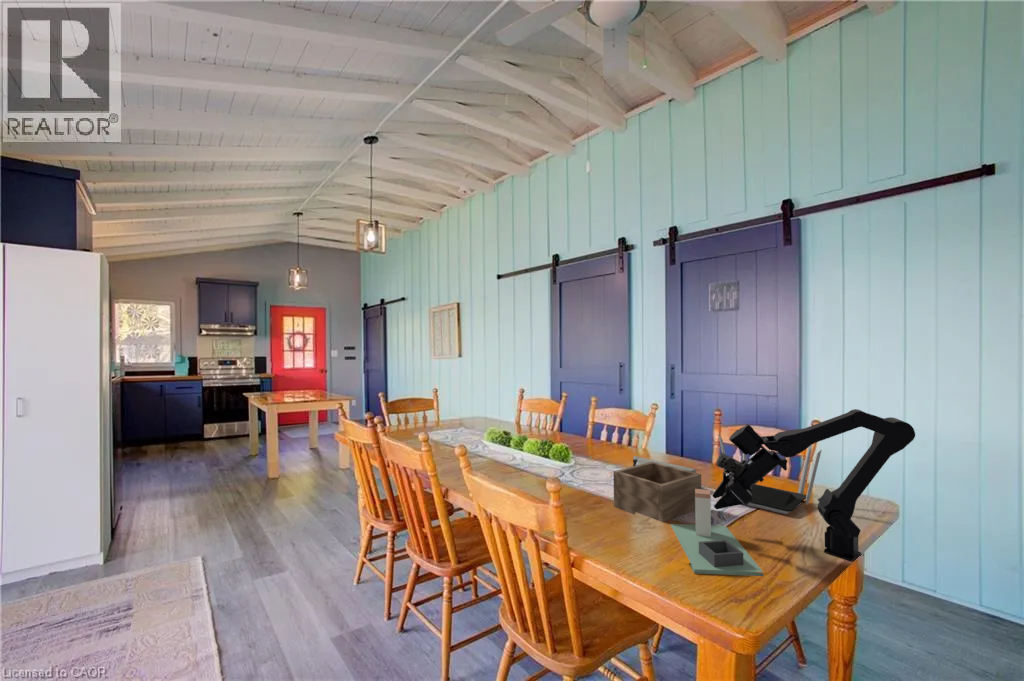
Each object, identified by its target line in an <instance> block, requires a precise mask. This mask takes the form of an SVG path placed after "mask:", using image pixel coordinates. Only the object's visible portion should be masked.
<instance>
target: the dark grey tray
mask: <svg viewBox="0 0 1024 681" xmlns="http://www.w3.org/2000/svg"><path fill="white" fill-rule="evenodd" d="M699 554H700V555H701V556H703V557H704V558H705V559H706V560H707V561H708V562H709V563H710V564H711V565H713V566H714V567H724V566H736V565H743V552H741V551H740V550H739V549H737V548H736V547H735V546H733V545H732V544H731V543H730V542H728V541H727V540H717V541H703V542H699Z"/></svg>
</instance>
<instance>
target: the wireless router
mask: <svg viewBox="0 0 1024 681" xmlns="http://www.w3.org/2000/svg"><path fill="white" fill-rule="evenodd" d="M717 436H718V440H719V444H720V450H721V453H724V454H726V451H725V446H724V442H723V437H722V436H721V435H720V434H718V435H717ZM806 450H807V451H806V456H805V460H804V464H803V469H802V472H801V476H800V477H801V478H800V482H799V486H798V490H797V492H795V491H789V490H784V489H781V488H776V487H770V486H766V485H761V484H757V483H756V484H755V485H753V486H752V487H751V488H752V490H751V491H750V492H751V495H752V501H751V502H750V503H749V504H747V505H746V506H749V507H752V508H753V507H754V508H757V509H762V510H766V511H770V512H773V513H778V514H783V515H788V514H790V513H791V512H793V511H794V510H795V509H796V508H798V507H799V506H801V505H802V504H805V505H807V506H808V505H809V504H810V499H811V496H812V491H813V487H814V484H815V483H814V482H815V478H816V475H817V474H816V473H817V470H818V466H819V462H820V458H821V454H822V449H820V450H819V451H818V452H817V453H816V456H815V459H814V463H813V468H812V471H811V476H810V480H809V484H808V488H807V492H806V494H804V491H805V486H806V481H807V476H808V471H809V464H810V461H811V456H812V450H813V444H812V445H811V446H809V447H808V448H807V449H806ZM743 460H747V454H746V455H745V454H743V453H742V461H743ZM721 497H722V496H721ZM721 497H720V498H721Z"/></svg>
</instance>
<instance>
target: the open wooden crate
mask: <svg viewBox="0 0 1024 681" xmlns="http://www.w3.org/2000/svg"><path fill="white" fill-rule="evenodd" d="M612 474H613V507H614V508H617V509H619V510H622V511H624V512H627V513H630V514H632V515H636V513H637V514H640V515H643V516H645V517H648V518H649V519H654V520H655V521H656V520H657V521H658V522H661V523H664V522H668V521H669V520H673V519H675V518H678V517H680V516H683V515H686V514H688V513H691V512H695V489H702V474H701V473H697V472H696V473H694V472H690V471H686V470H682V469H678V468H675V467H671V466H667V465H663V464H659V463H655V462H649V463H645V464H641V465H637V466H633V465H632V466H630V467H626V468H622V469H621V468H620V469H617V470H614V471H613V473H612Z"/></svg>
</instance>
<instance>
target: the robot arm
mask: <svg viewBox="0 0 1024 681" xmlns="http://www.w3.org/2000/svg"><path fill="white" fill-rule="evenodd" d="M857 428H864V429H867V430H870V431H873V432H874V433H873V435H872V436H873V437H872V441H871V443H870V446H869V448H868V449H867V450H866V451H865V452H864V454H863V455H862V456H861V457H860V459H859V460H858V462H857V463H856V465H855V466H854V467H853V468H852V469H851V471H849V473H848V475H847V476H846V477H845V479H844V480H843V482H842V483H841V484H840V486H839V487H837V488H836V489H834V490H833V491H831V490H830V489H829V488H826V489H825V490H824V492H823V494H822V496H821V497H819V498H817V501H818V504H817V512H818V513H819V514H820V516H821V517H822V518H823V520H824V521H825V522H826V524H827V525H828V526H826V531H825V532H824V549H823V553H826V554H828V555H829V554H830V555H832V556H835V557H838V558H841V559H844V560H847V561H853V560H855V559H856V558H858V557H859V556H861V555H862V552H861V551H859V535H860V534H861V529H860V527H858V525H857V524H856V523H855V522H854V520H853V519H852V517H853V515H854V513H855V508H856V503H857V500H858V499H859V498H860V496H862V494H863V492H864V491H865V490H866V489H867V487H868V486H869V485H870V484H871V482H872V481H873V479H874V478H875V477H876V476H877V474H878V473H879V472H880V470H881V469H882V468H883V466H884V465H885V464H886V463H887V461H888V460H889V459H890V458H891V457H892V456H893V455H895V454H897V453H898V452H901V451H902V450H904V449H905V448H906V447H907V446H909V445H910V444H911V442H913V441H914V440H915V438H916V431H915V428H914V427H913V426H912V425H911V424H909V423H908V422H907V421H903V420H901V419H898V418H897V417H885V418H883V417H880V416H877V415H874V414H871V413H867V412H865V411H863V410H861V409H854V408H853V409H851V410H849V411H848V412H845V413H842V414H840V415H838V416H834V417H832V418H829V419H827V420H824V421H821V422H818V423H816V424H813V425H810V426H807V427H805V428H798V429H789V430H784V431H779V432H777V433H775V434H774V435H763V436H761V435H760V434H759V433H758V432H757V431H755V429H754V428H753V427H752V426H751V424H750V423H748V424H746V425H745V426H742V427H740V428H739V429H736V430H735V431H734V432H733V433H732V434H731V435H730V437H729V438H728V440H729V441H730V442H731V443H732V444H733V445H734V446H735V447H736V448H737V449H739V451H741V453H742V455H743V454H745V455H746V456H747V455H749V456H751V457H750V458H749V459H746V460H743V459H742V461H739V460H737V459H735V458H733V457H731V456H730V455H727V454H726V453H725V454H724V453H722V452H721V453H720V454H719V456H718V458H717V460H715V461H716V466H717V467H718V468H721V469H723V471H722V481H721V482H720V483H719V484H718V486H717V488H716V489H715V491H714V492H713V494H712V495H711V496H712V497H713V499H718V498H719V499H718V500H717V502H716V503H715V504H714V505H713V508H715V509H716V510H720V509H721V510H722V509H726V508H730V507H735V506H744V505H745V506H748V505H747V504H749V503H750V502H751V501H752V495H751V492H750V491H751V490H752V488H751V487H752V486H753V485H755V484H757V483H758V482H760V483H762V482H764V480H765V479H764V478H765V477H766V476H767V475H768V474H770V473H772V471H773V470H774V469H776V468H777V467H778V466H779V467H780V468H782V470H784V471H788V460H787V459H786V458H793V457H795V456H797V455H799V454H800V453H803V452H804V451H806V450H808V447H809V446H811V445H812V446H813V445H814V444H816V443H819V442H822V441H824V440H827V439H830V438H832V437H835V436H838V435H840V434H844V433H846V432H847V433H848V432H849V431H853V430H855V429H857ZM763 445H764V446H763ZM765 447H766V448H765ZM776 452H777V453H778V454H777V453H776ZM780 456H783V457H784V458H783V457H780ZM721 496H722V497H721Z"/></svg>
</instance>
